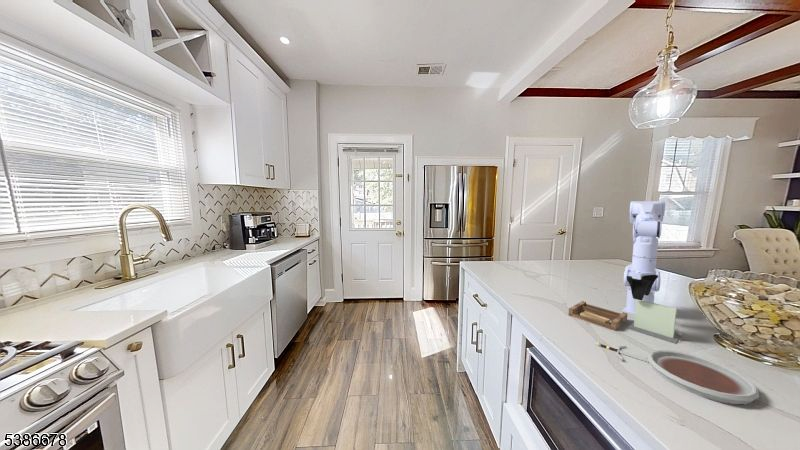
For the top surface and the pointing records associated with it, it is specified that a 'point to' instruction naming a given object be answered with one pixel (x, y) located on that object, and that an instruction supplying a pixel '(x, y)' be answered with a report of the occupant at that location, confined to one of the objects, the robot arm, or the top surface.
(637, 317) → the board
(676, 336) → the mat
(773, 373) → the top surface
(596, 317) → the offcut top
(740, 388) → the frying pan
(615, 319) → the rack
